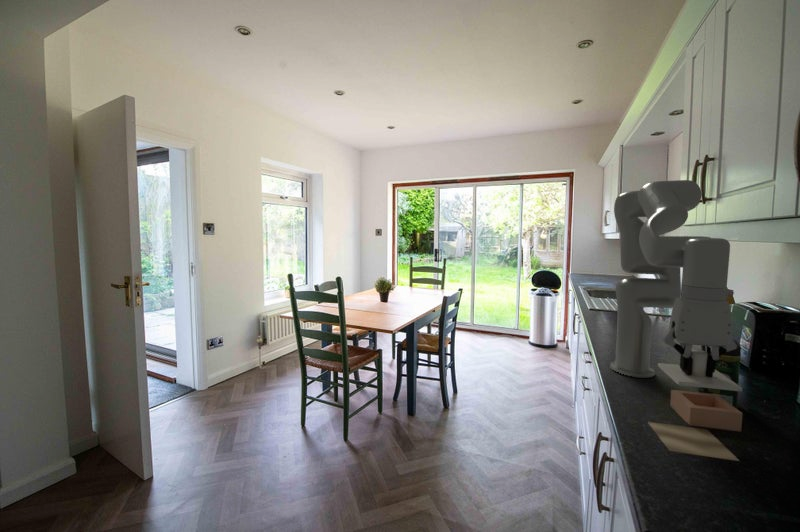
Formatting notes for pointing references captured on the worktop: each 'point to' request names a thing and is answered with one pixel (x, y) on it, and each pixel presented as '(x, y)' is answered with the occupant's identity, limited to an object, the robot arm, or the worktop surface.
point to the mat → (691, 441)
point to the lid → (699, 374)
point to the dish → (706, 410)
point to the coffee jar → (727, 374)
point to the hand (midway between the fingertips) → (696, 373)
